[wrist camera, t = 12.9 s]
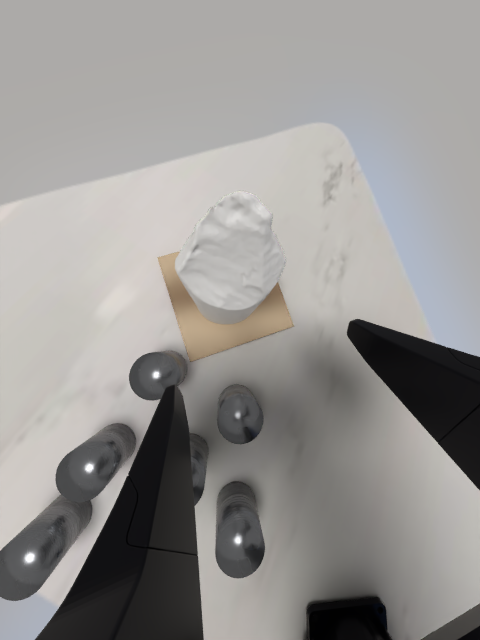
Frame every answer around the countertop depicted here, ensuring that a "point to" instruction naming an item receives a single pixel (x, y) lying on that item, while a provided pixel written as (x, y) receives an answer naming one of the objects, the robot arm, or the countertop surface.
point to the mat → (219, 337)
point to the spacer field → (106, 460)
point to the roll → (231, 259)
